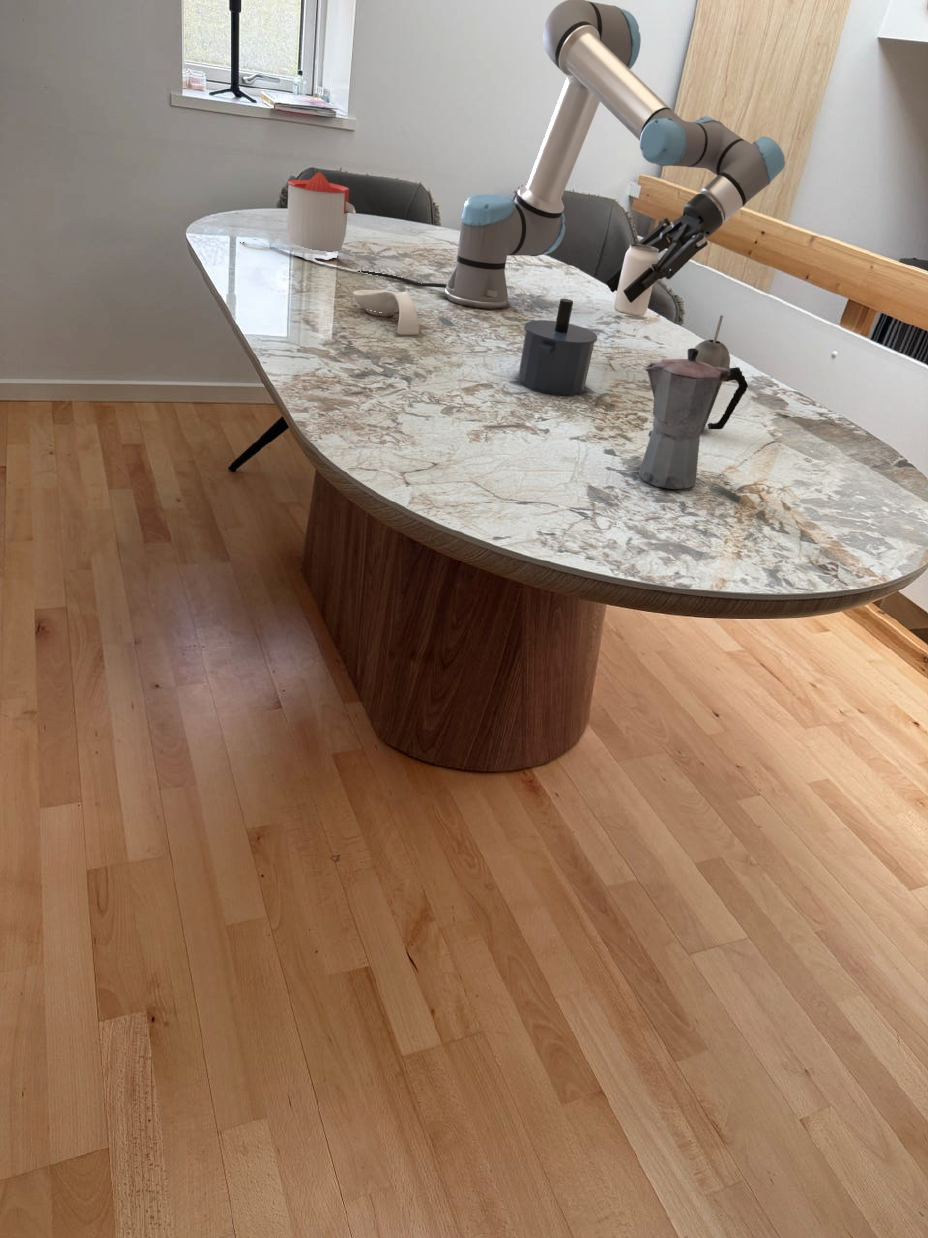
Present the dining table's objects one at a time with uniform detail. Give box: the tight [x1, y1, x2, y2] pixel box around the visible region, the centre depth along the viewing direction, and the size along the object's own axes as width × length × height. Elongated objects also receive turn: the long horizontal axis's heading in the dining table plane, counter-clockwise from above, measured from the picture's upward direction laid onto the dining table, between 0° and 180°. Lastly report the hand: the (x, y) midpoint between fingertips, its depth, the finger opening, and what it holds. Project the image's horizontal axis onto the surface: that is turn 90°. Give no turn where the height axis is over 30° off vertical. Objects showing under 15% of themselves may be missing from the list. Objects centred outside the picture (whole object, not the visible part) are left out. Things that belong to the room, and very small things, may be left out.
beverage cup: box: [694, 314, 731, 433], centre depth 160 cm, size 7×7×20 cm
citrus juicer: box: [286, 171, 357, 252], centre depth 237 cm, size 16×17×20 cm
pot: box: [517, 331, 595, 396], centre depth 173 cm, size 13×18×10 cm
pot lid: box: [523, 298, 598, 345], centre depth 169 cm, size 14×14×7 cm
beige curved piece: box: [352, 289, 420, 336], centre depth 197 cm, size 24×12×7 cm, turn 25°
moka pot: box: [638, 347, 749, 490], centre depth 137 cm, size 10×15×20 cm, turn 95°
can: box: [613, 243, 660, 317], centre depth 179 cm, size 6×6×12 cm
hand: (618, 291), depth 179 cm, fingers closed on can, 6 cm apart
